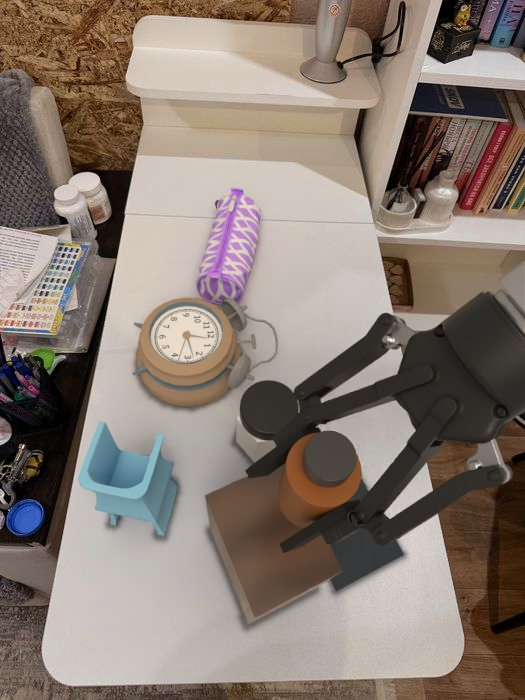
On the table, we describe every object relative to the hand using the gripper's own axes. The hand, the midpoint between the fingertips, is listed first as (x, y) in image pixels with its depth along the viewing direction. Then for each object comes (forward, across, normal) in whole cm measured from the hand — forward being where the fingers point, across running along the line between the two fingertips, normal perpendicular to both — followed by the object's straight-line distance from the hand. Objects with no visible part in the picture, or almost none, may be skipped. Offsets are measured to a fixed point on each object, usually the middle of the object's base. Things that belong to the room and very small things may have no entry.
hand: (273, 507), depth 41 cm
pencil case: (+11, +50, -37) cm, 63 cm away
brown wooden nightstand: (+23, 0, -25) cm, 34 cm away
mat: (+14, 0, -34) cm, 37 cm away
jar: (+18, +16, -31) cm, 39 cm away
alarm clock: (+20, +33, -29) cm, 48 cm away
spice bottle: (-1, 0, -4) cm, 4 cm away
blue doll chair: (+32, +14, -16) cm, 39 cm away
